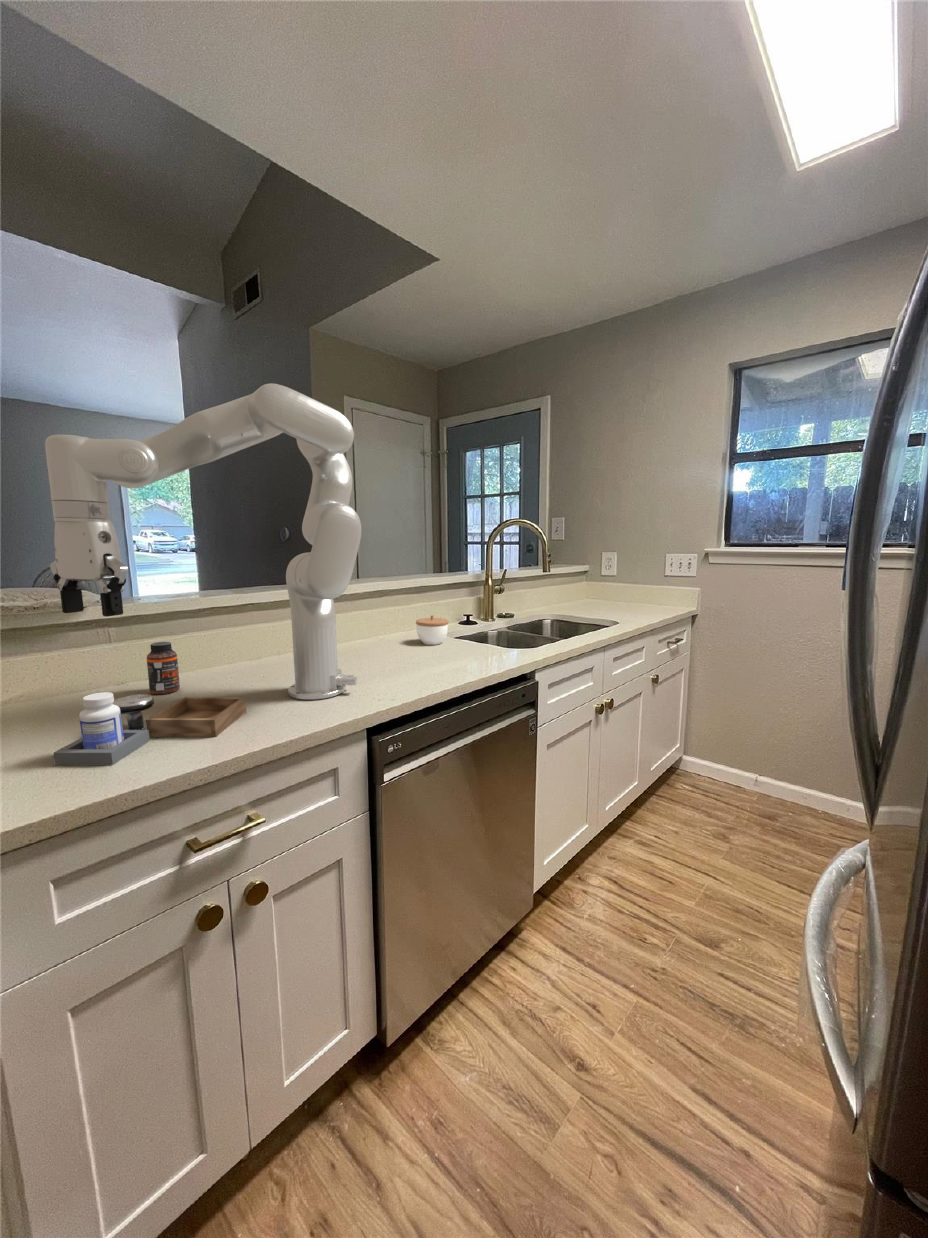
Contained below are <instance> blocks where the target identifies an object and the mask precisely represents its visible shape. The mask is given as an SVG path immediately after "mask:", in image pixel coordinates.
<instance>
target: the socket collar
mask: <svg viewBox="0 0 928 1238" xmlns="http://www.w3.org/2000/svg"><path fill="white" fill-rule="evenodd" d="M123 736H124V741H122V742H121V743H119V744H117V745H116V746H114V747H112V748H111V749H83V741H82V737H80V738H78V739H77V740H75V741H73V742H70V743H69V744H67V745H65V746H63V747H61V748H60V749H57V750H55V751H54V752H53V759H54V765H57V766H59V765H60V766H62V765H64V766H67V765H69V766H71V765H72V766H73V765H76V766H78V765H81V766H83V765H84V766H85V765H86V766H90V765H91V766H96V765H97V766H100V765H101V766H103V765H104V766H105V765H106V766H109V765H110V766H113V765H115V764H116V763H118V762H120V761H121V760H123V759H124V758H126V757H127V756H128V755H130V754H132V753H133V752H135V751H137V750H138V749H139V748H141V747H142V746H144V745H145V744H147V743H148V742H151V741H150V736H149V730H147V729H141V730H128V729H123Z"/></svg>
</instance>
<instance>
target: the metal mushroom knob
mask: <svg viewBox="0 0 928 1238" xmlns="http://www.w3.org/2000/svg"><path fill="white" fill-rule="evenodd" d="M154 698H155V697H154V696H153V695H151V694H146V693H144V694H143V693H142V694H131V695H126V696H123V697H119V698H116V699H114V702H113V705H117V706H118V707H119V708H120V712H121V715H125V714H126V719H127V730H144V728H145V723H144V716H143V715H144V714H143V713H144V712H143V711H146V710H149V709H151V708H152V707H154V705H155V699H154Z"/></svg>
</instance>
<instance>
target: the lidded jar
mask: <svg viewBox="0 0 928 1238" xmlns="http://www.w3.org/2000/svg"><path fill="white" fill-rule="evenodd" d="M415 624H416V633H417V637H418V638H419V640H420V641H421V642H422V643H423V644H424V645H426V646H437V645H441V644H442V643H443V641H445V640H446V637H447V636H448V630H449V620H448V619H447V618H444V617H443V618H442V617H434V615H432V614H431V615H430V617H424V618H423V617H422V618H418V619H416V622H415Z"/></svg>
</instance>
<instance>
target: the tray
mask: <svg viewBox="0 0 928 1238" xmlns="http://www.w3.org/2000/svg"><path fill="white" fill-rule="evenodd" d="M246 703H247V702H246V697H226V696H225V697H218V696H217V697H214V696H213V697H212V696H211V697H208V696H206V697H201V696H200V697H196V696H195V697H194V696H193V697H192V696H190V697H189V696H188V697H186V696H185V697H183V698H181V699H180V700H177V701H176V702H174V703H173V704H170V705H169V706H168V707H166V708H164V709H162V710H161V711H159V712H157V713H155V714H153V715H152V716H149V717H148V718H146V719H145V725H146V730H149V737H182V738H184V737H186V738H188V737H194V738H195V737H197V738H198V737H200V738H204V737H207V738H208V737H212V738H213V737H217V736H219V735H220V734H222V733H223V732H224V731H225V730H227V729H228V727H230V726H231V725H232V724H234V723H235V722H236V721H238V720H239V719H240V718H241V717H243V716H244V715H245V714H246V713H247V704H246Z"/></svg>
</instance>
